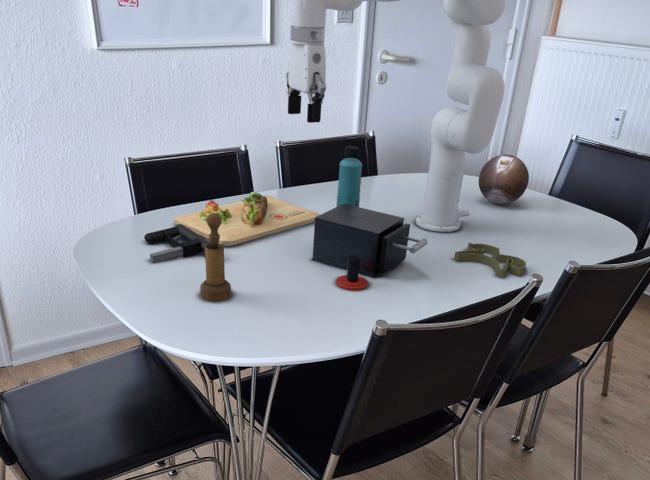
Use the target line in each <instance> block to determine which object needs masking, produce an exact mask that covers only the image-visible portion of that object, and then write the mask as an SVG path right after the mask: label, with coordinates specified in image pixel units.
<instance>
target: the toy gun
mask: <svg viewBox="0 0 650 480" xmlns="http://www.w3.org/2000/svg"><path fill="white" fill-rule="evenodd" d="M143 236H144V241H145V242H146V243H147V244H151V245H152V244H156V243H159V242H165V243H166V244H167V245H169V246H170V247H171V248H168V249H164V250H159V251H156V252H153V253H149V259H150V260H149V261H150V262H152V263H153V264H156V263H158V262H162V261H166V260H170V259H174V258H177V257H181V256H182V257H183V258H188V257H192V256H193V257H194V256H196V255H199V254H205V245H206V244H209V243H210V240H208V239H207V238H205V237H203V236H201V235H199V234H197V233H195V232H193V231H192V230H190V229H189V228H187V227H186V226H184V225H182V224H178V225H177V224H175V226H173V227H168V228H164V229H161V230H160V229H159V230H156V231H152V232H147V233H145V234H144V235H143ZM178 239H182V240H184V241H180V242H179V241H177V240H178Z"/></svg>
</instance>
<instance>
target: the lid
mask: <svg viewBox="0 0 650 480" xmlns="http://www.w3.org/2000/svg"><path fill="white" fill-rule="evenodd" d="M359 265H360V257H359V256H356V255H351V256H349V258H348V269H347V270H346V272H347V273H346V274H344V275H341V276H338V277H337V278H336V280H335V283H336V285H337V286H338V287H339V288H341V289H343V290H348V291H361V290H364V289H366V288H368V285H369V281H368V280H367V279H366V278H365V277H363V276H360V275H359Z"/></svg>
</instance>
